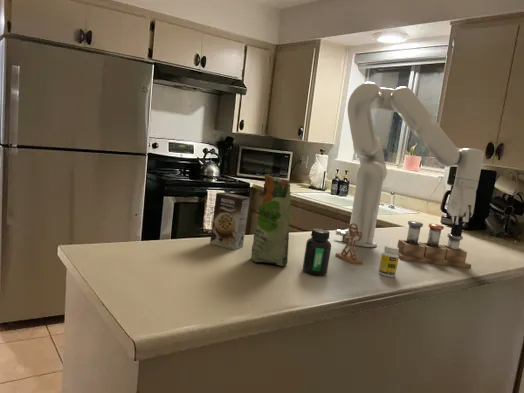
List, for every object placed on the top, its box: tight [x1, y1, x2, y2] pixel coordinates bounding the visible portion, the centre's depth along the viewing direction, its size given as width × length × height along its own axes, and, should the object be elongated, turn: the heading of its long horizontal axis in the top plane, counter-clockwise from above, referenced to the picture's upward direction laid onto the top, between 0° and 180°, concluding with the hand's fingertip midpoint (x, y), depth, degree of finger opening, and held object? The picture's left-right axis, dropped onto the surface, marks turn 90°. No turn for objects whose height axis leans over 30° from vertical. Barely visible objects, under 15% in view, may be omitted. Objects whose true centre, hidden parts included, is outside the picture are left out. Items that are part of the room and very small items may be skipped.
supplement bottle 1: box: [302, 228, 332, 277], centre depth 121 cm, size 7×7×12 cm
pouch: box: [250, 173, 292, 267], centre depth 124 cm, size 11×12×25 cm
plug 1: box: [406, 220, 424, 245], centre depth 155 cm, size 5×5×8 cm
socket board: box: [396, 239, 472, 269], centre depth 156 cm, size 25×10×5 cm, turn 93°
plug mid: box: [426, 223, 445, 248], centre depth 155 cm, size 5×5×8 cm
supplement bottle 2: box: [378, 244, 399, 278], centre depth 129 cm, size 5×5×8 cm
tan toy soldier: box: [334, 223, 363, 266], centre depth 139 cm, size 9×4×12 cm, turn 30°
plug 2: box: [446, 232, 464, 250], centre depth 156 cm, size 5×5×8 cm
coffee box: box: [209, 191, 251, 251], centre depth 137 cm, size 9×6×16 cm
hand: (455, 235), depth 155 cm, fingers closed
